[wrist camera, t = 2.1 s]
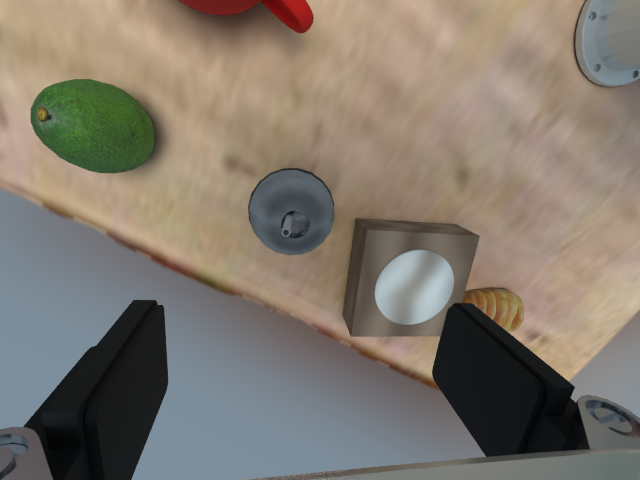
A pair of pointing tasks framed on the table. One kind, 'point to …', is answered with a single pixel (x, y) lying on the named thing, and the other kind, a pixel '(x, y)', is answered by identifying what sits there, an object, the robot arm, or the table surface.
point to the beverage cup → (291, 211)
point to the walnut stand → (405, 276)
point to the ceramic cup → (284, 3)
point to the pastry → (498, 306)
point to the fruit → (93, 125)
